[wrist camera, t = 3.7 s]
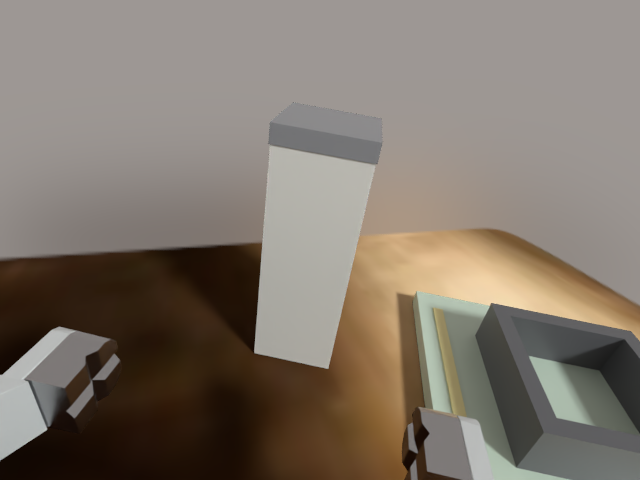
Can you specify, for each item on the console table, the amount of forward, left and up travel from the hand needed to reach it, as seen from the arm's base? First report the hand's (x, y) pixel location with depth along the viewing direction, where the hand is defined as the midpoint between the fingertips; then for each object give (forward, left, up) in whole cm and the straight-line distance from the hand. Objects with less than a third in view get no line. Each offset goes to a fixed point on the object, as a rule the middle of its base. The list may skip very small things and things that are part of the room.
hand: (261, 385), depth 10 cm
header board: (+14, +7, -7) cm, 17 cm away
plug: (0, +9, -7) cm, 11 cm away
